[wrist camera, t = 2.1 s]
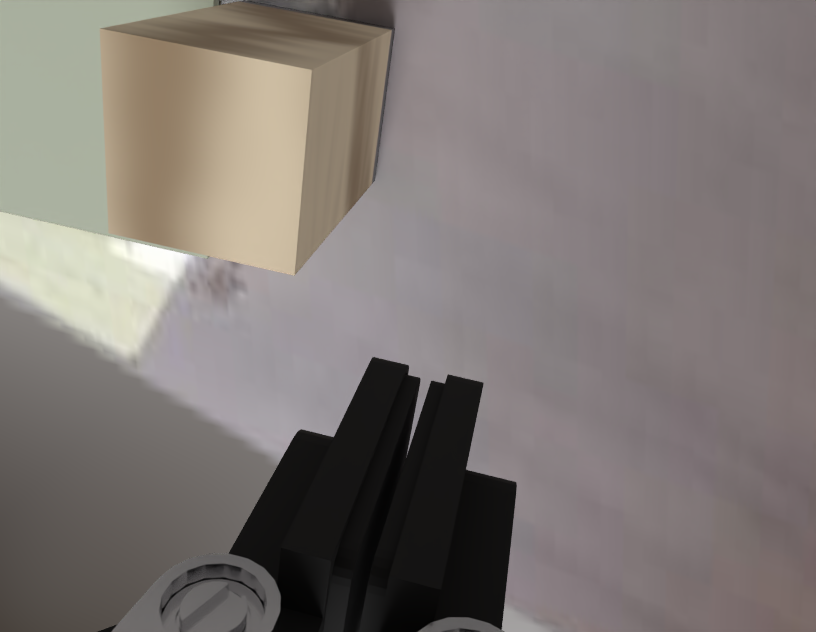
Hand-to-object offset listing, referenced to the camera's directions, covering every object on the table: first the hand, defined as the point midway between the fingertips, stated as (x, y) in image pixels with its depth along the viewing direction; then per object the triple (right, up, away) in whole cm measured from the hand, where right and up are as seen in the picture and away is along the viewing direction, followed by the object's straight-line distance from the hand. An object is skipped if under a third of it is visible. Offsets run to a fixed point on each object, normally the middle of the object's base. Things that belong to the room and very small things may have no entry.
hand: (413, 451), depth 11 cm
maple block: (-4, +11, +19) cm, 22 cm away
